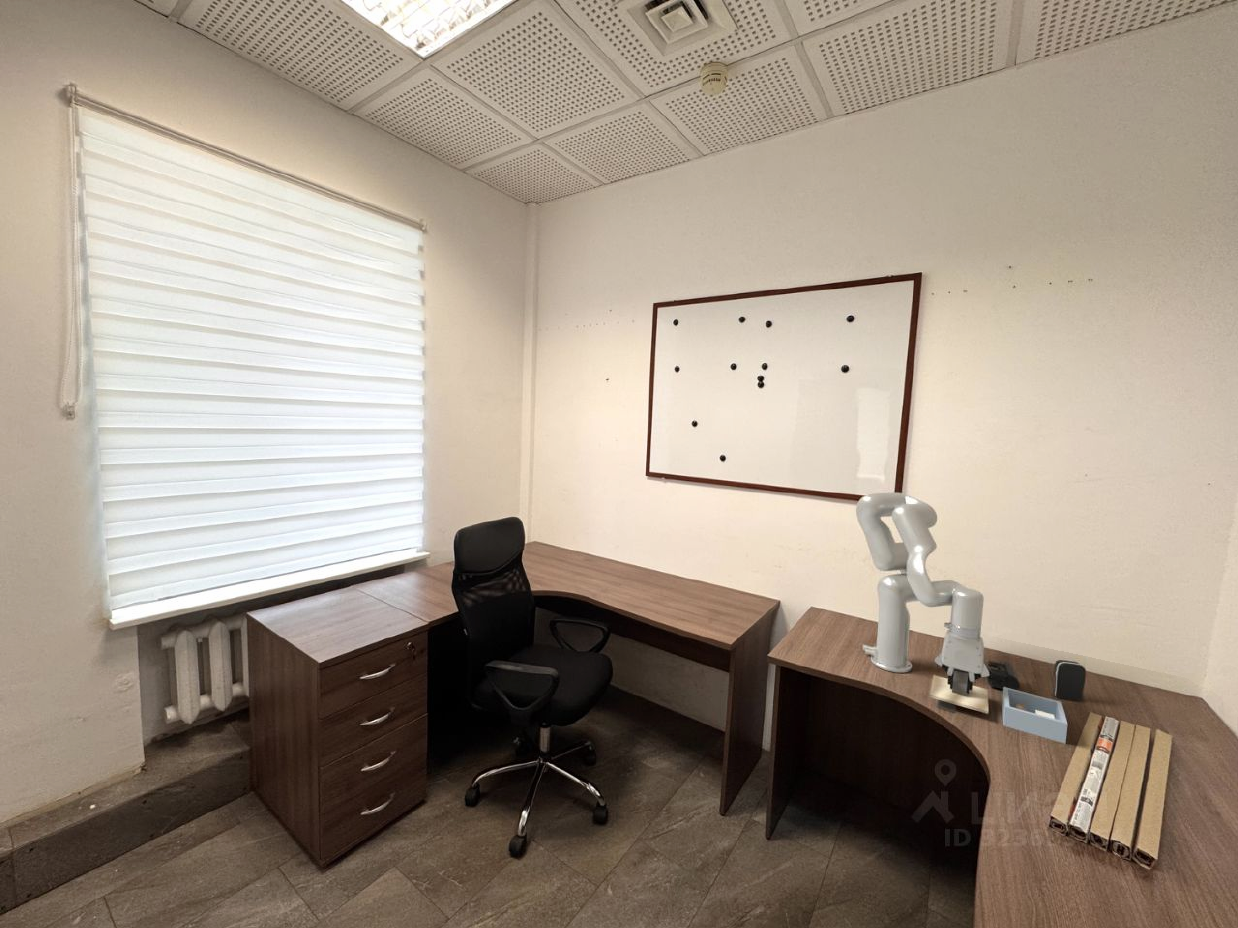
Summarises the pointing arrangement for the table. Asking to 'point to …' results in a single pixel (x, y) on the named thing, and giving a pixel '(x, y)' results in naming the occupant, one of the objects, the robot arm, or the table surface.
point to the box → (1034, 715)
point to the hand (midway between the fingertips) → (959, 688)
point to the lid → (960, 692)
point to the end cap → (1002, 676)
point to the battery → (1069, 680)
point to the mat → (947, 705)
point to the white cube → (1044, 714)
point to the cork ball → (1020, 707)
